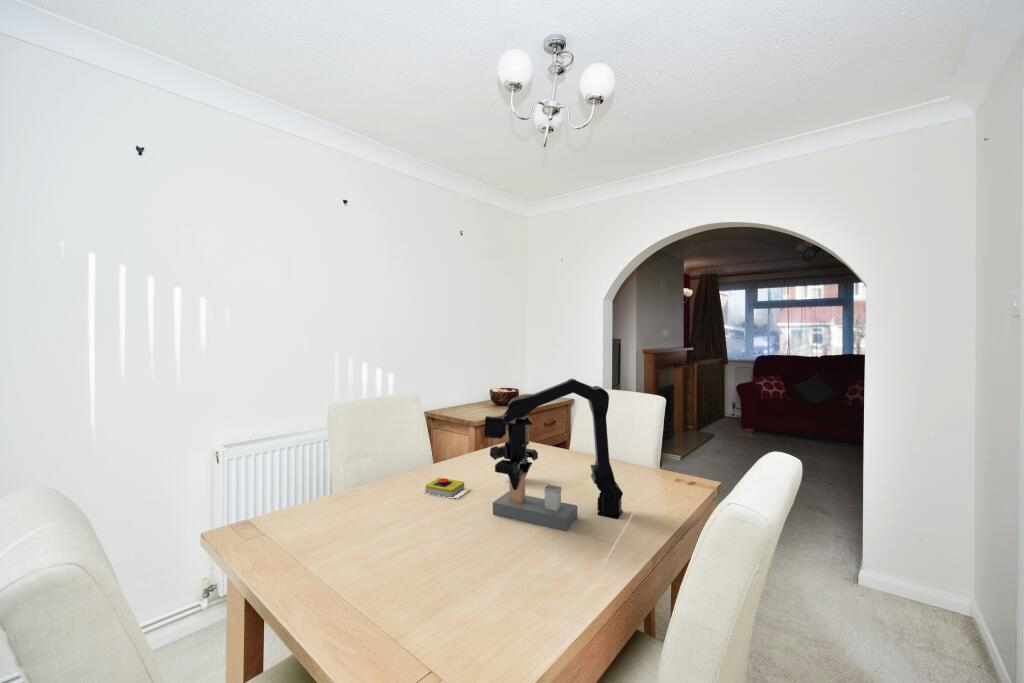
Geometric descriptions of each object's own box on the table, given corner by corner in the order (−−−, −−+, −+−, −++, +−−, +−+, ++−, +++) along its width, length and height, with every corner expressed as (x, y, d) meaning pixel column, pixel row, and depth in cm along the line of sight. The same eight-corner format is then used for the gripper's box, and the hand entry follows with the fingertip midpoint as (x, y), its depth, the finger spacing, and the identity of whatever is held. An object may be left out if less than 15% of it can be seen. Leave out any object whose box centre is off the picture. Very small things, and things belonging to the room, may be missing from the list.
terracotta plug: (525, 504, 137) (525, 472, 137) (521, 507, 134) (521, 475, 134) (513, 501, 139) (513, 470, 139) (509, 505, 136) (509, 473, 136)
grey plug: (561, 519, 132) (561, 486, 131) (557, 523, 129) (557, 490, 129) (548, 516, 134) (548, 484, 133) (544, 520, 131) (544, 487, 130)
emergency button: (435, 473, 162) (470, 479, 156) (435, 485, 162) (470, 491, 156) (420, 481, 154) (457, 488, 148) (420, 493, 154) (457, 500, 148)
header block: (577, 518, 133) (577, 505, 133) (565, 532, 124) (565, 518, 124) (507, 503, 144) (507, 491, 144) (492, 515, 135) (492, 502, 135)
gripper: (508, 429, 148) (508, 474, 149) (479, 442, 131) (479, 493, 132) (538, 433, 143) (538, 480, 143) (512, 446, 126) (512, 500, 127)
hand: (517, 487), depth 137 cm, fingers closed on terracotta plug, 3 cm apart
